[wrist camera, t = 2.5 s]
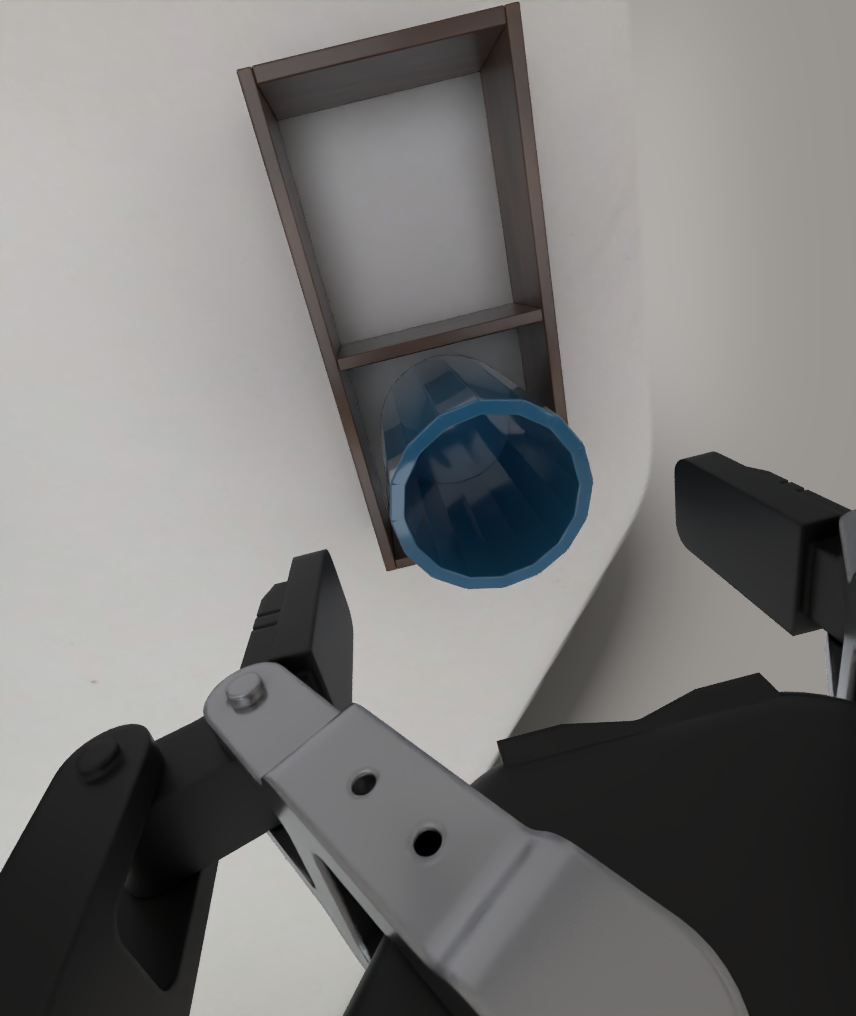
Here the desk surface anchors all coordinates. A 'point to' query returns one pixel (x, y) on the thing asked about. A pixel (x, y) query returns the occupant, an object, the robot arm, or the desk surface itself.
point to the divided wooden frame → (502, 64)
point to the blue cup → (479, 474)
